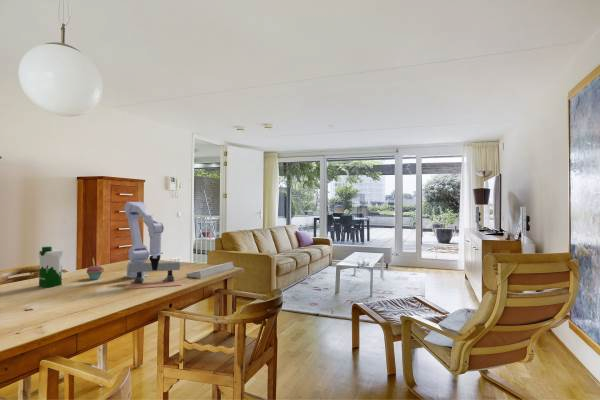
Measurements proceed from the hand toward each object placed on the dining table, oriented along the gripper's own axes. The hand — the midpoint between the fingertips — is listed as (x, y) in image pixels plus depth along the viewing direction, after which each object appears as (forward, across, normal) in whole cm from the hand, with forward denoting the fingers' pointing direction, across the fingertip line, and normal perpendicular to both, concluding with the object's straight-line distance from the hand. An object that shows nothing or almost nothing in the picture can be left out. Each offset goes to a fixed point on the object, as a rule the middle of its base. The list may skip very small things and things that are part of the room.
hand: (154, 269), depth 193 cm
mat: (+7, -10, 0) cm, 12 cm away
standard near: (+7, 0, +8) cm, 10 cm away
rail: (+1, 0, 0) cm, 1 cm away
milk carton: (+7, +4, +49) cm, 50 cm away
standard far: (+7, 0, -8) cm, 10 cm away
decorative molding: (+7, +16, -33) cm, 37 cm away
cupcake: (+7, +16, +31) cm, 36 cm away
